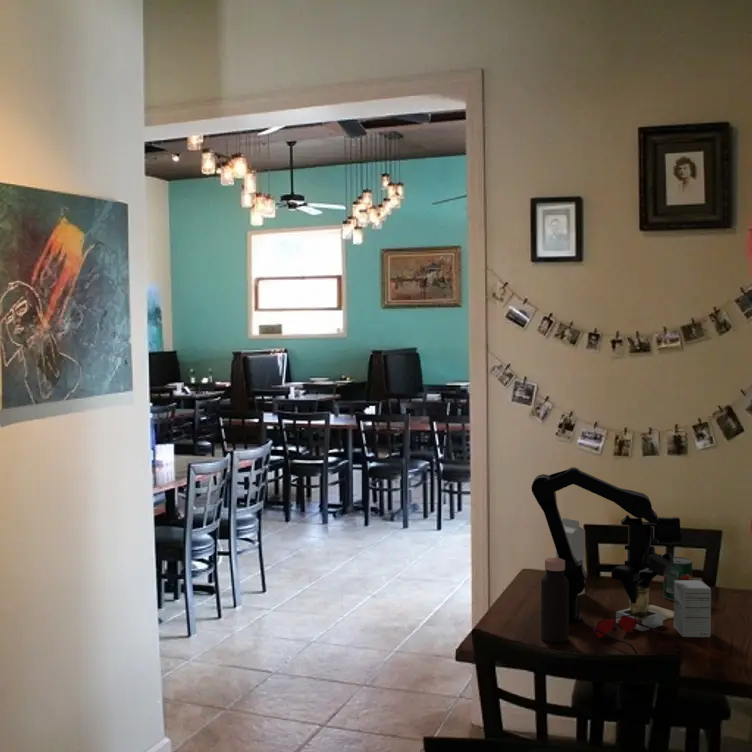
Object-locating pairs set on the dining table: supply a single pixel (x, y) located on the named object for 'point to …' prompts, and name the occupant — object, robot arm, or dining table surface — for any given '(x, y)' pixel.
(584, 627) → the dining table surface
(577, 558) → the milk
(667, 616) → the coaster
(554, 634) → the bottle
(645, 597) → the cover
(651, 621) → the housing
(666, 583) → the canned tomato
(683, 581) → the supplement box
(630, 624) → the glasses
